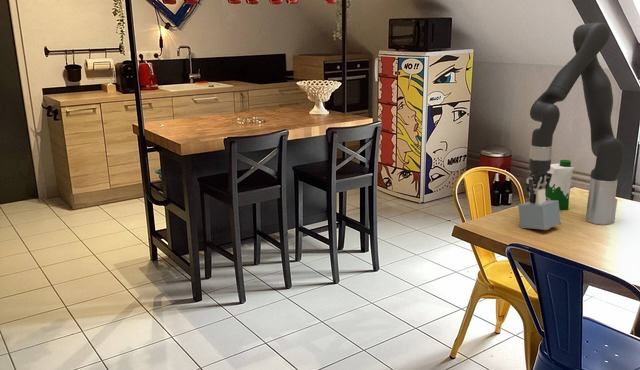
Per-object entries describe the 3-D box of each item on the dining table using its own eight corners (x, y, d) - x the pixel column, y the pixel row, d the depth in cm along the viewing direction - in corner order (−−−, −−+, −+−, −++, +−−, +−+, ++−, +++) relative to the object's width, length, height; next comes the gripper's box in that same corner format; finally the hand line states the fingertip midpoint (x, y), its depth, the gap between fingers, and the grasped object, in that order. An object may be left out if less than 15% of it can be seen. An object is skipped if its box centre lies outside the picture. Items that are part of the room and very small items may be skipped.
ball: (552, 216, 207) (549, 228, 209) (538, 213, 208) (535, 225, 210) (553, 221, 203) (549, 233, 205) (538, 218, 204) (535, 230, 206)
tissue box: (536, 221, 215) (533, 187, 214) (560, 223, 207) (557, 187, 206) (520, 227, 210) (516, 191, 208) (544, 229, 201) (540, 192, 200)
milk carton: (571, 210, 228) (576, 163, 222) (550, 211, 227) (555, 164, 222) (560, 203, 236) (565, 158, 231) (540, 204, 235) (544, 159, 230)
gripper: (542, 152, 210) (538, 195, 215) (519, 158, 202) (515, 202, 207) (560, 156, 204) (556, 200, 209) (537, 162, 196) (533, 208, 201)
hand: (536, 201), depth 208 cm, fingers closed on tissue box, 4 cm apart
